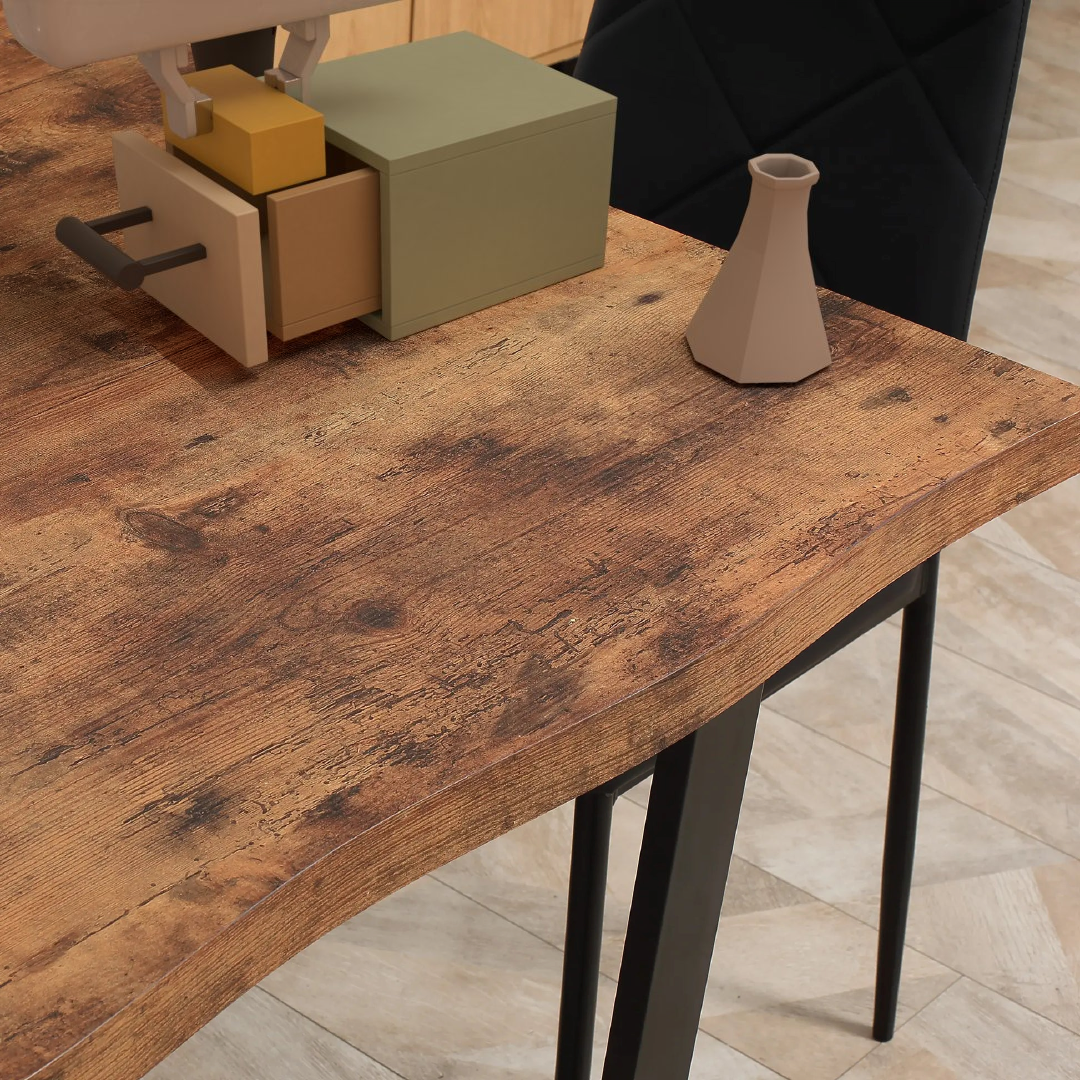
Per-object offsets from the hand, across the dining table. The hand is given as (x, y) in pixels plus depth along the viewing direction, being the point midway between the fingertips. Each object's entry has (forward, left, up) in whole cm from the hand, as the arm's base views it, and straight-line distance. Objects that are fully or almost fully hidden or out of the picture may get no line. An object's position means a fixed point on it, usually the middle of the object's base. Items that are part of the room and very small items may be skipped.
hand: (240, 121), depth 73 cm
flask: (+18, +18, -11) cm, 28 cm away
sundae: (-16, +9, -11) cm, 21 cm away
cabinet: (0, +11, -10) cm, 15 cm away
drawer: (0, 0, -9) cm, 9 cm away
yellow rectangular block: (0, 0, -2) cm, 2 cm away
